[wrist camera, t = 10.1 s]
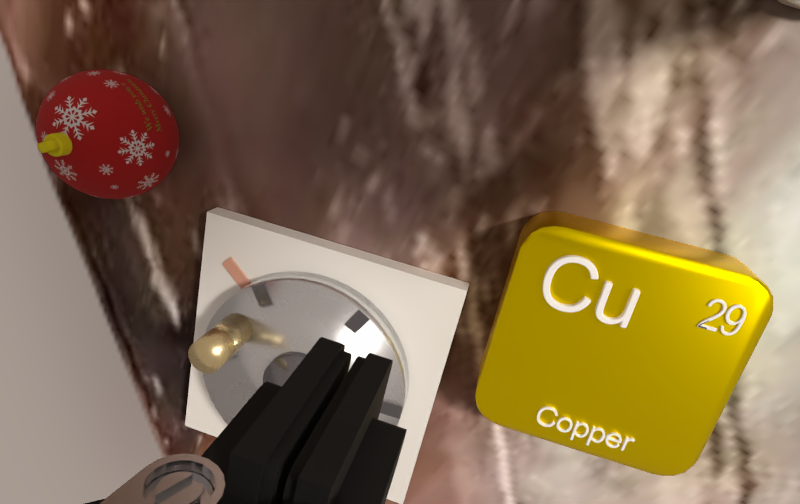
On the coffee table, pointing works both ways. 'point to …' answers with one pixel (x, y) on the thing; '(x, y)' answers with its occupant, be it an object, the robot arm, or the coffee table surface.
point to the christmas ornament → (107, 134)
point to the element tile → (619, 341)
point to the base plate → (366, 273)
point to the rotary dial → (292, 338)
